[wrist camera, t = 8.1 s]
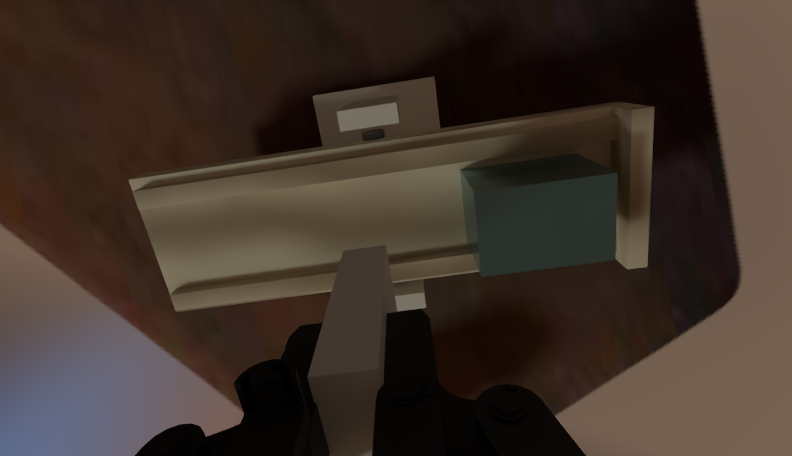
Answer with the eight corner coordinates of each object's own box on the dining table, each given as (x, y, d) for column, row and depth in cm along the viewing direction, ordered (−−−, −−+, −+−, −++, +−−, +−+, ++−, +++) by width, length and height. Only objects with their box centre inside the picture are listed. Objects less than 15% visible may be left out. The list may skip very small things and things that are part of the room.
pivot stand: (315, 95, 30) (284, 104, 22) (433, 76, 29) (445, 79, 21) (350, 268, 34) (335, 329, 26) (453, 254, 34) (470, 312, 26)
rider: (459, 169, 23) (474, 192, 19) (576, 153, 23) (617, 172, 18) (466, 240, 24) (481, 276, 20) (577, 226, 24) (615, 259, 20)
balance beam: (167, 156, 27) (101, 181, 21) (594, 90, 26) (654, 97, 20) (209, 283, 30) (161, 337, 24) (594, 230, 29) (646, 273, 23)
